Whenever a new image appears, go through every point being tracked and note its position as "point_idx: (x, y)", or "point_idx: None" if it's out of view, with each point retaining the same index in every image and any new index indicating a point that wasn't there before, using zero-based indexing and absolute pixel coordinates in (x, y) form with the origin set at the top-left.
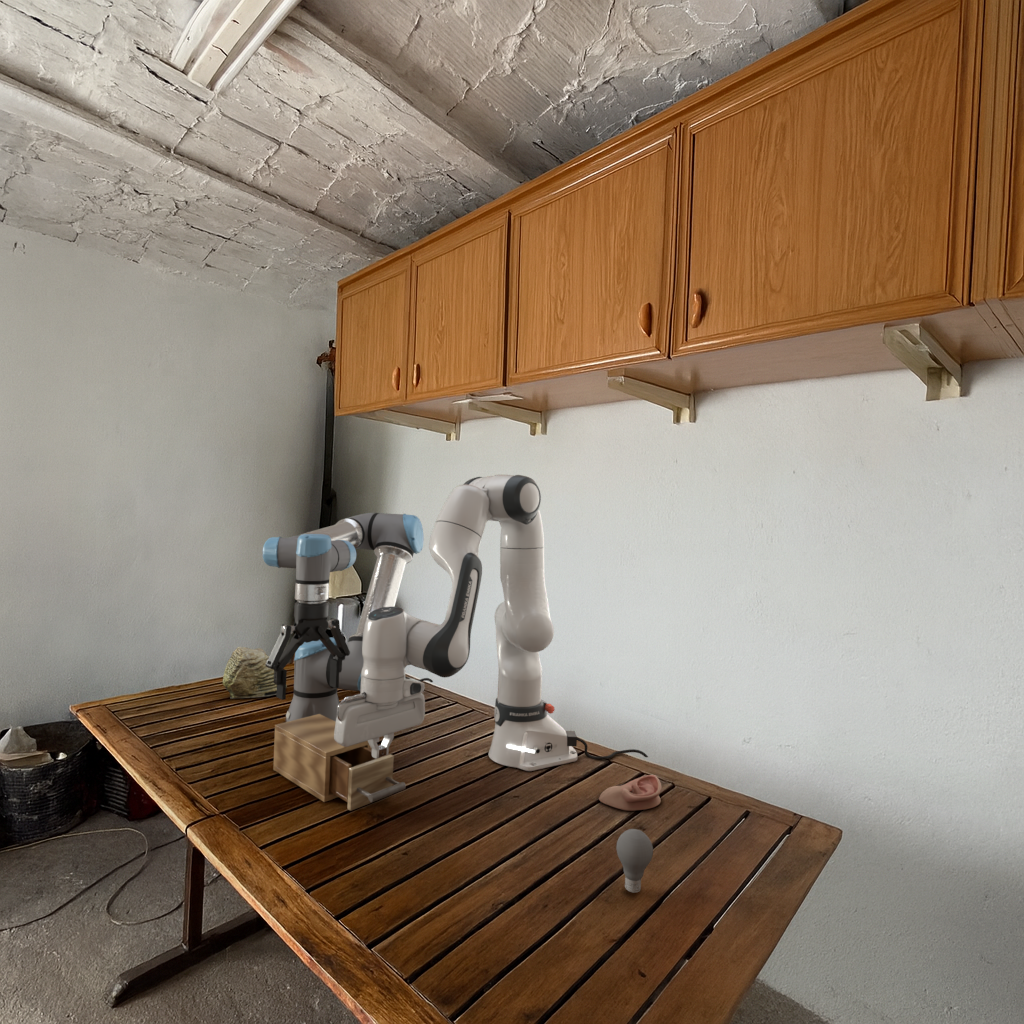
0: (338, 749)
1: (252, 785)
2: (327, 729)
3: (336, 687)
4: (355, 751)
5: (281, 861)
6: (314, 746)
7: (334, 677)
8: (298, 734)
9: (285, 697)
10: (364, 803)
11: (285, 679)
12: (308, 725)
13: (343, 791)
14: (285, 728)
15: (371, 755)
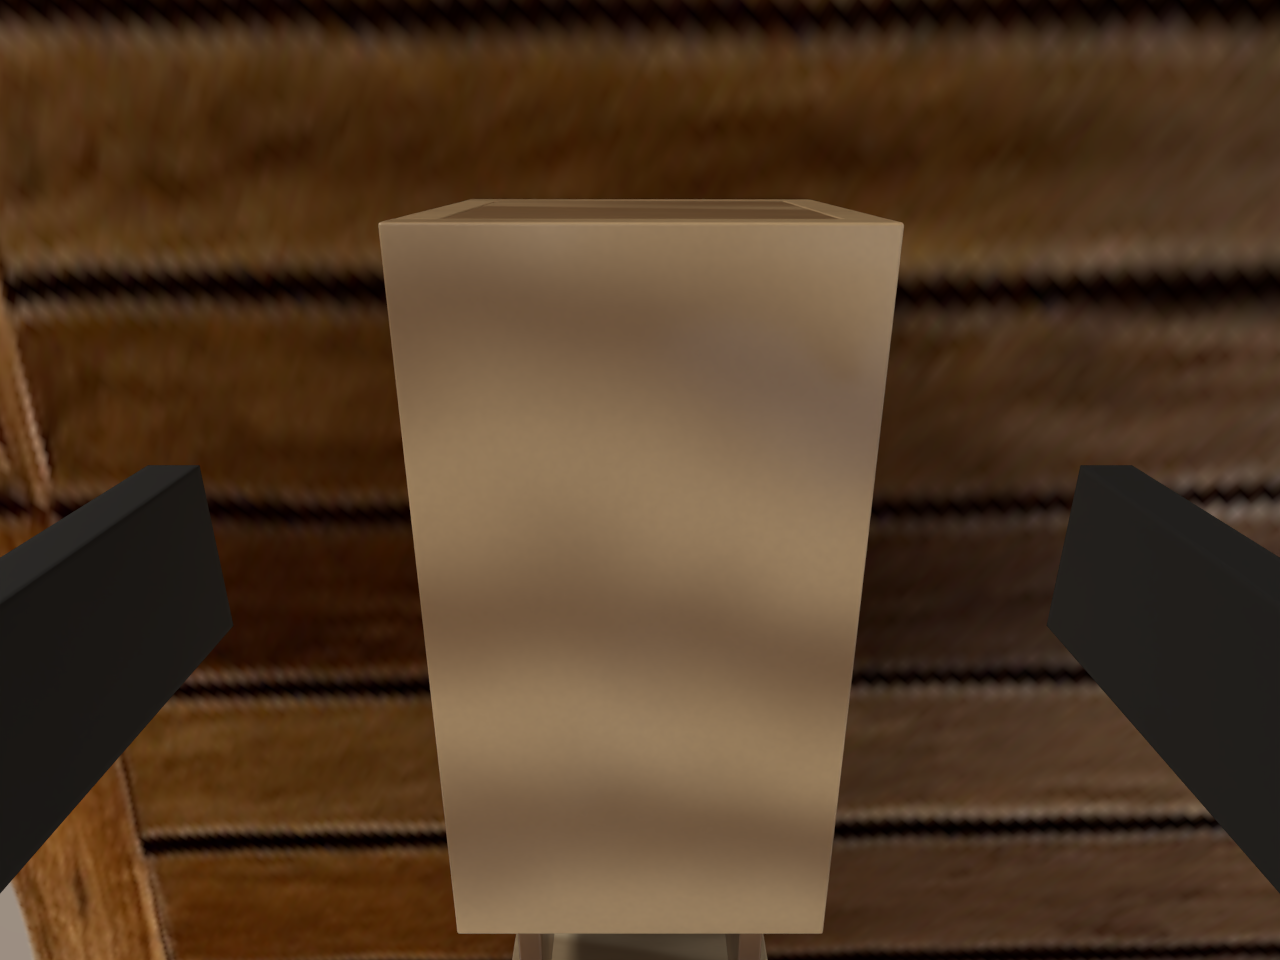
0: (549, 933)
1: (283, 324)
2: (698, 628)
3: (1059, 632)
4: None
5: (183, 945)
6: (445, 820)
7: (1146, 672)
8: (454, 576)
9: (219, 637)
10: None
11: (21, 845)
12: (627, 451)
13: None
14: (423, 381)
15: (735, 947)
